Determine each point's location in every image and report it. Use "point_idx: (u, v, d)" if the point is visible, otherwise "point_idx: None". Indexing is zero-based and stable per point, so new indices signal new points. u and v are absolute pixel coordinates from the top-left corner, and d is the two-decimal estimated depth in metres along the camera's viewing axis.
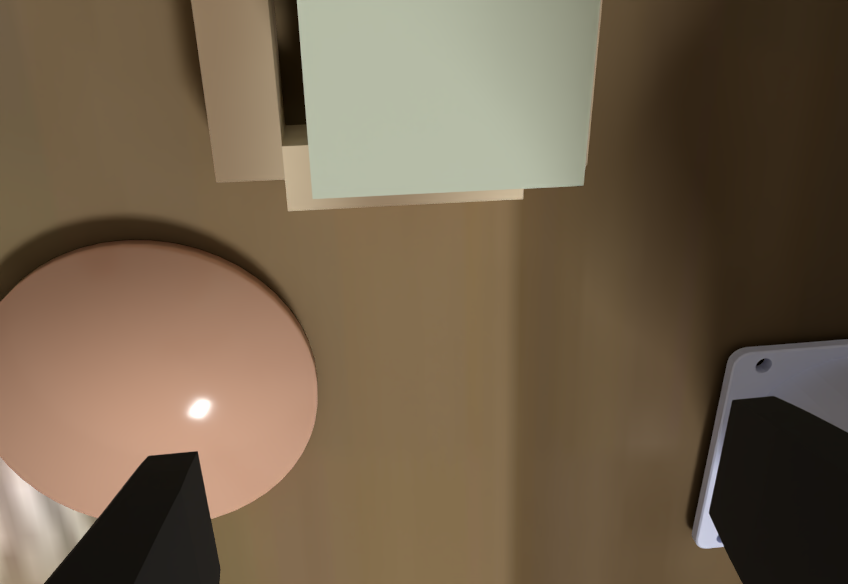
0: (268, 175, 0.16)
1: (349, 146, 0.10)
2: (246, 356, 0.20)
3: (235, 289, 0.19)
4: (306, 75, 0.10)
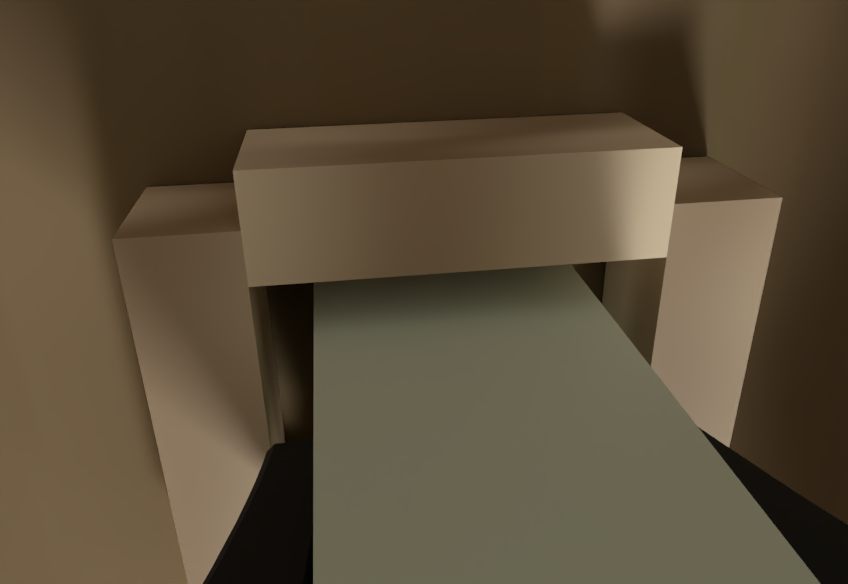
0: None
1: None
2: None
3: None
4: None
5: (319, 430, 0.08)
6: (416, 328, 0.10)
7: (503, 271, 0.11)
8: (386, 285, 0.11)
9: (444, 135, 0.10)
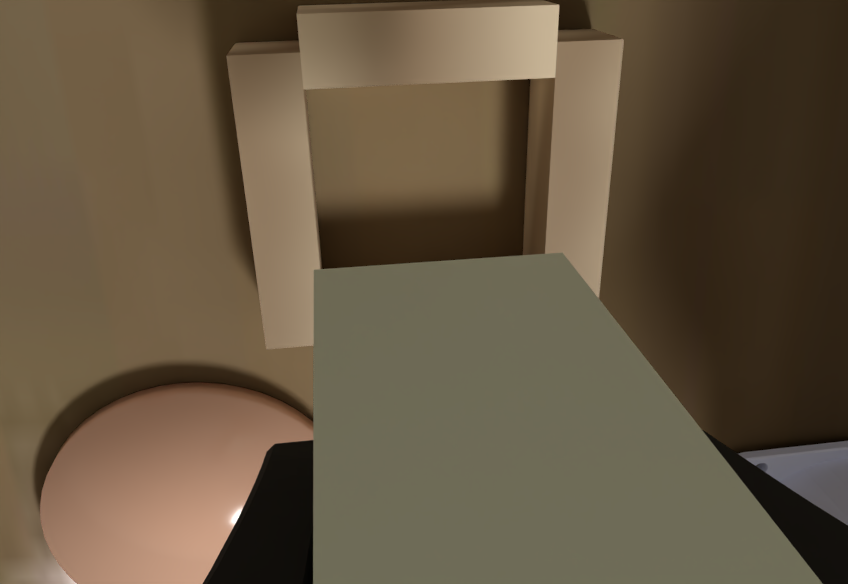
0: (312, 341, 0.18)
1: None
2: None
3: (278, 424, 0.21)
4: None
5: (319, 428, 0.08)
6: (416, 326, 0.10)
7: (504, 271, 0.11)
8: (386, 284, 0.11)
9: (419, 4, 0.16)
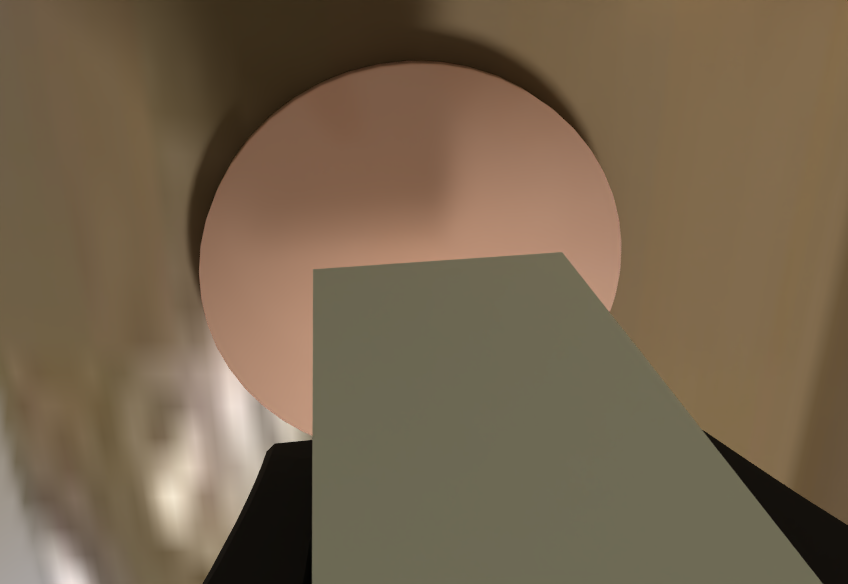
0: None
1: None
2: (543, 224, 0.15)
3: (546, 128, 0.14)
4: None
5: (318, 428, 0.08)
6: (415, 326, 0.10)
7: (503, 270, 0.11)
8: (385, 283, 0.11)
9: None
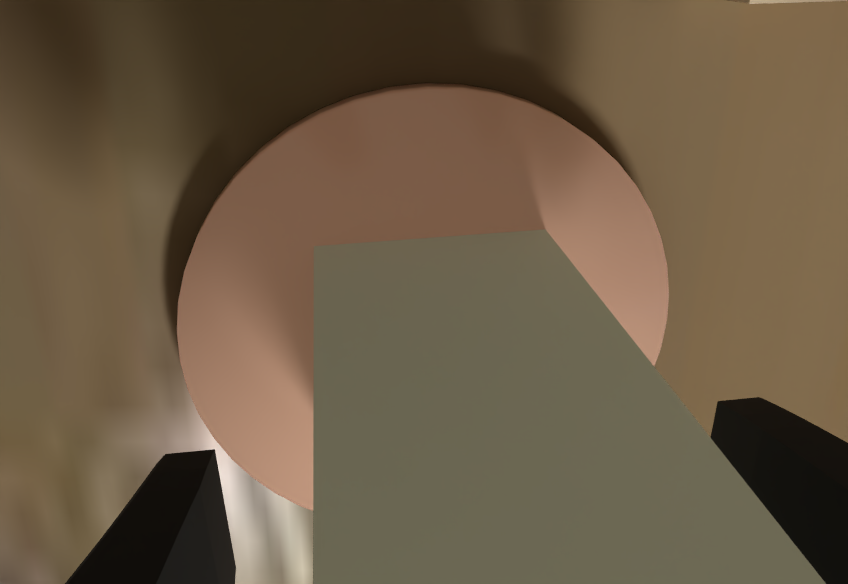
0: None
1: None
2: (579, 271, 0.13)
3: (586, 162, 0.12)
4: None
5: (318, 378, 0.08)
6: (407, 294, 0.10)
7: (490, 245, 0.12)
8: (380, 258, 0.12)
9: None
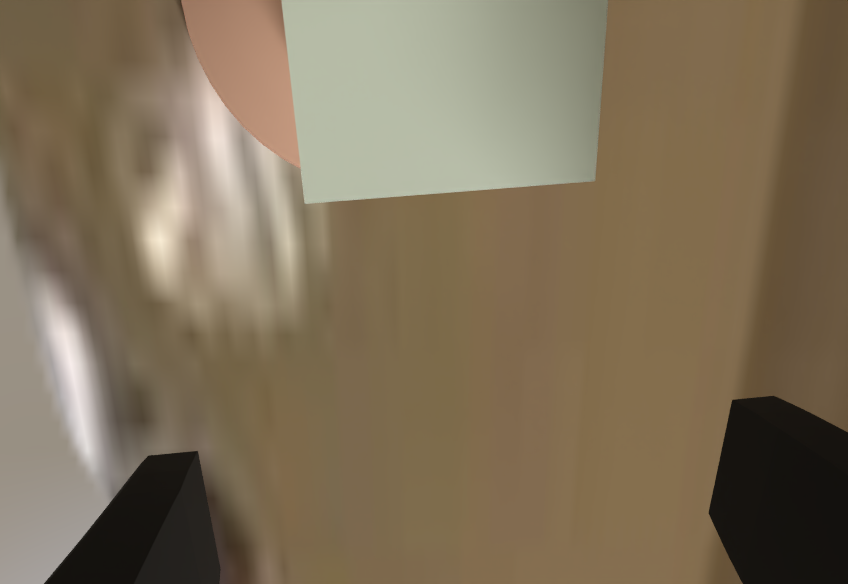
0: None
1: (342, 146, 0.09)
2: None
3: None
4: (293, 71, 0.09)
5: None
6: None
7: None
8: None
9: None
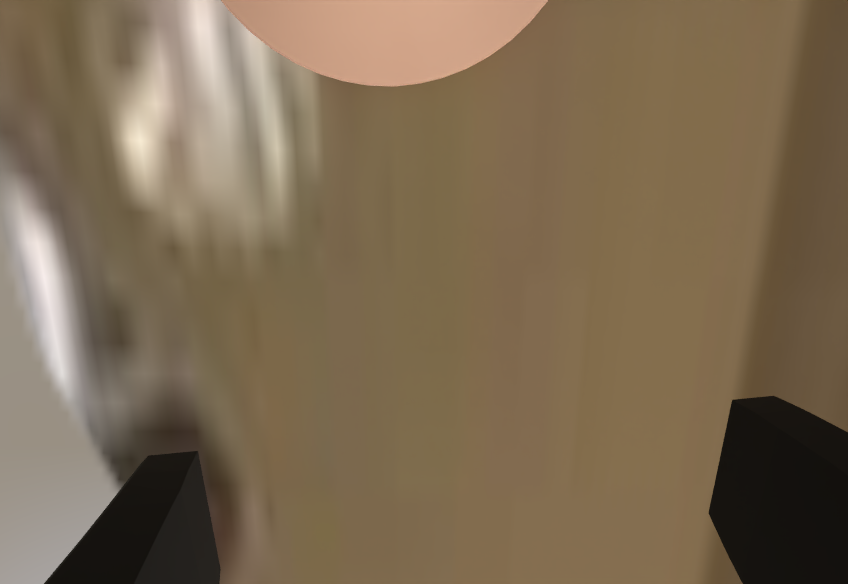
0: None
1: None
2: None
3: None
4: None
5: None
6: None
7: None
8: None
9: None
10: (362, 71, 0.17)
